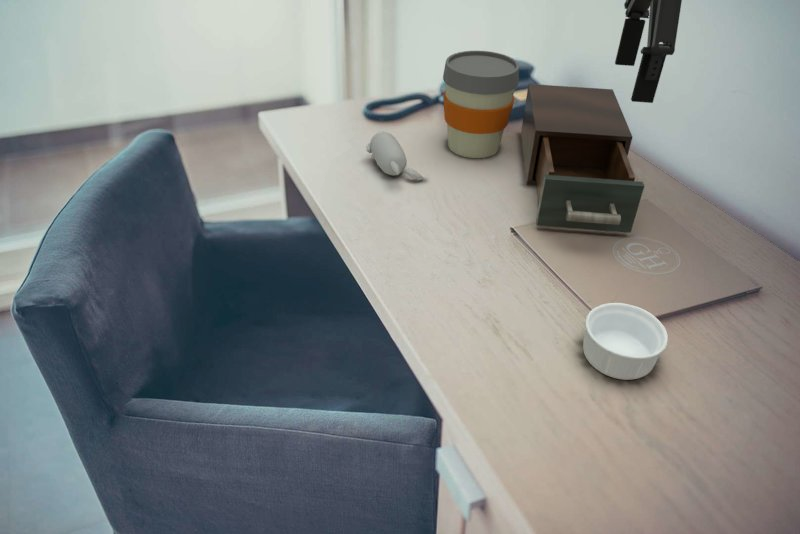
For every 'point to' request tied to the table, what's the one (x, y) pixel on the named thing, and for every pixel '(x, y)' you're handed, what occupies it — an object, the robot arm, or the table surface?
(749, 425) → the table surface
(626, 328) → the ramekin
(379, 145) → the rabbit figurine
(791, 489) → the table surface
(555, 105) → the cabinet
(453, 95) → the reusable coffee cup
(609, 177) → the drawer
